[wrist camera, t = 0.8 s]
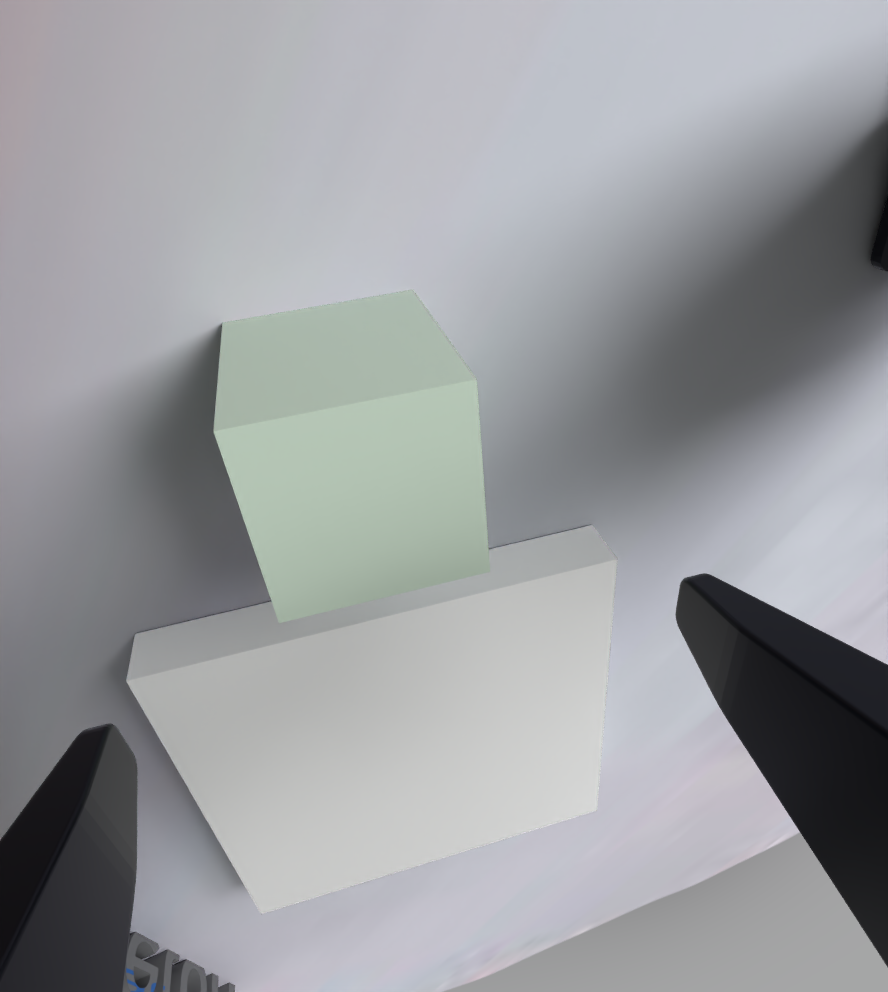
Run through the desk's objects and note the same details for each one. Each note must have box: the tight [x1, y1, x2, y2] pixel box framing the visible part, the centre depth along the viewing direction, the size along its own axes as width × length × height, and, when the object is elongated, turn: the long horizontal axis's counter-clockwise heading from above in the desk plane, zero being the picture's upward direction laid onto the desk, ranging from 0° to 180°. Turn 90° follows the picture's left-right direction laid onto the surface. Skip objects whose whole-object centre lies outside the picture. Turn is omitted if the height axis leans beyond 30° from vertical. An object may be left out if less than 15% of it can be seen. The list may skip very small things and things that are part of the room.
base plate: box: [126, 525, 618, 914], centre depth 26 cm, size 16×16×2 cm
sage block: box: [213, 290, 490, 623], centre depth 16 cm, size 5×5×6 cm
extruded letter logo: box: [123, 932, 235, 992], centre depth 27 cm, size 25×2×6 cm, turn 20°
